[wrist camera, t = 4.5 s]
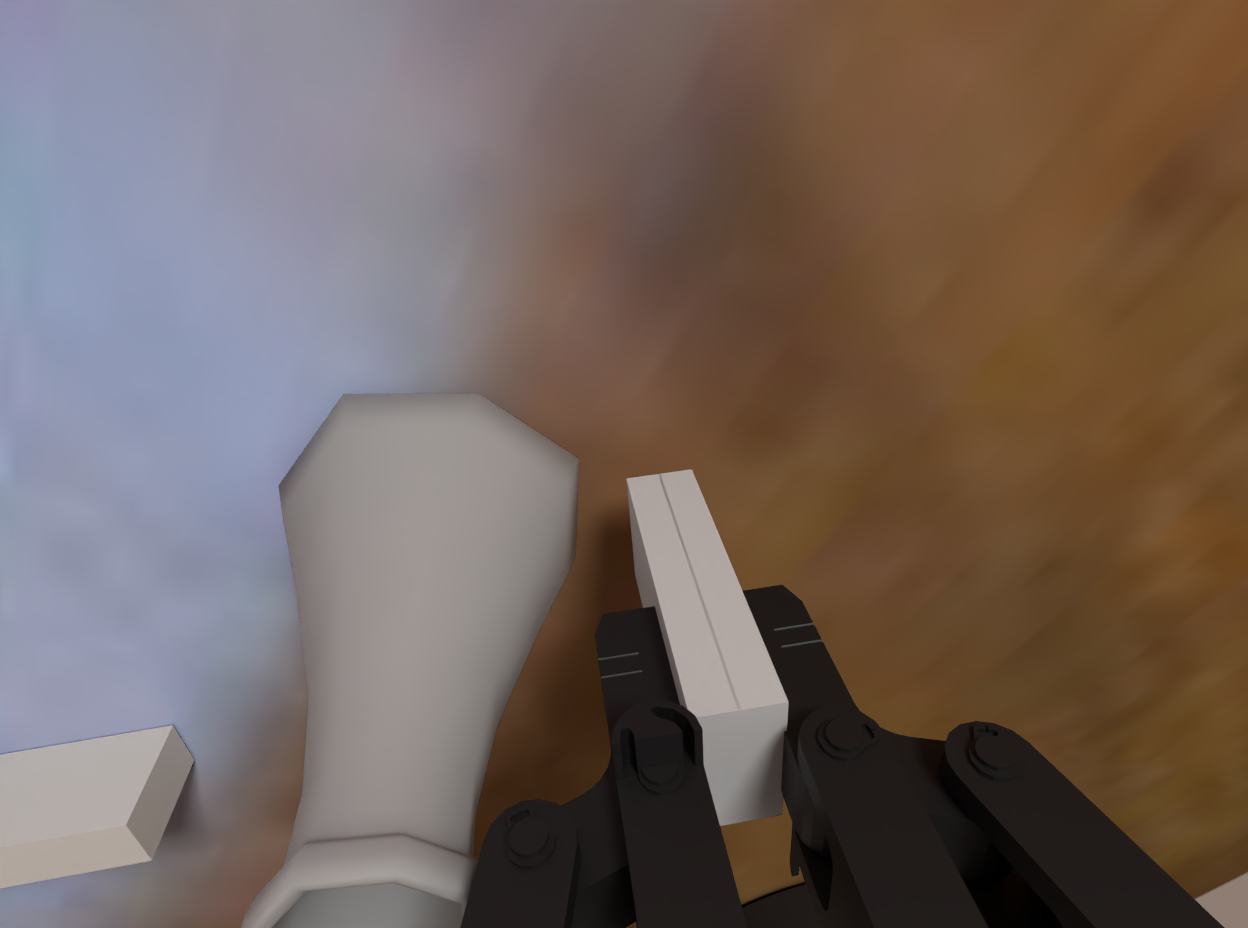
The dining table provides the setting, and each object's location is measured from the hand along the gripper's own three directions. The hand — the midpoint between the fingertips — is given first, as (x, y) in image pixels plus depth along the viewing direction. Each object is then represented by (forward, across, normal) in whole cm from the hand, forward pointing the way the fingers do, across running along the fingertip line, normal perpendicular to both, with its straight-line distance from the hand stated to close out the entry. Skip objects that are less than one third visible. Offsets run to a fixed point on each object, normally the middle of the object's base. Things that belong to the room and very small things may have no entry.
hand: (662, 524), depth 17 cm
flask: (+2, +5, 0) cm, 6 cm away
